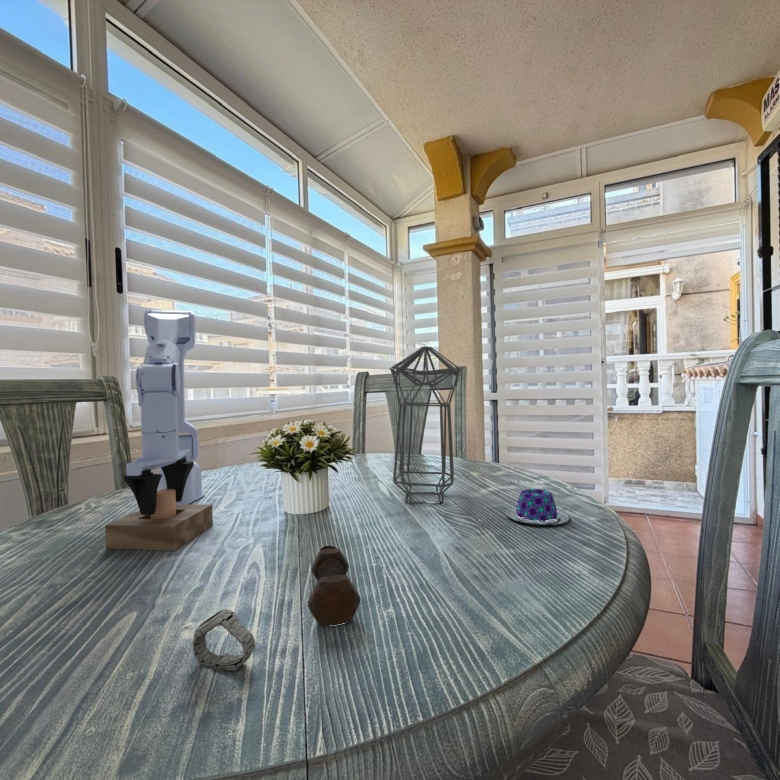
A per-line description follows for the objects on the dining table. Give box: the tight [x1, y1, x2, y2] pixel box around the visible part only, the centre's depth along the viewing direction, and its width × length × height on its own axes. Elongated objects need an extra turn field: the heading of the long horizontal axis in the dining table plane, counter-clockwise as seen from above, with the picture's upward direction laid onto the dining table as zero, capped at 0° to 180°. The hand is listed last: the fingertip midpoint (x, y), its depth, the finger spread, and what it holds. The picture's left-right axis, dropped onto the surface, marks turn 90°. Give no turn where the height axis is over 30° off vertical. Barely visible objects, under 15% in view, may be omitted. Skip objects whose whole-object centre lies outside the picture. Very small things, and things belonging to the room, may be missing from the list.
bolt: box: [307, 545, 361, 628], centre depth 53 cm, size 6×5×15 cm
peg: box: [151, 489, 176, 520], centre depth 74 cm, size 4×4×8 cm
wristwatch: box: [192, 608, 256, 672], centre depth 40 cm, size 4×6×5 cm, turn 73°
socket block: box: [104, 503, 214, 552], centre depth 74 cm, size 12×12×4 cm
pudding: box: [516, 488, 558, 521], centre depth 80 cm, size 12×12×5 cm
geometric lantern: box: [388, 345, 462, 504], centre depth 95 cm, size 16×16×35 cm
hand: (162, 507), depth 74 cm, fingers open, 7 cm apart
